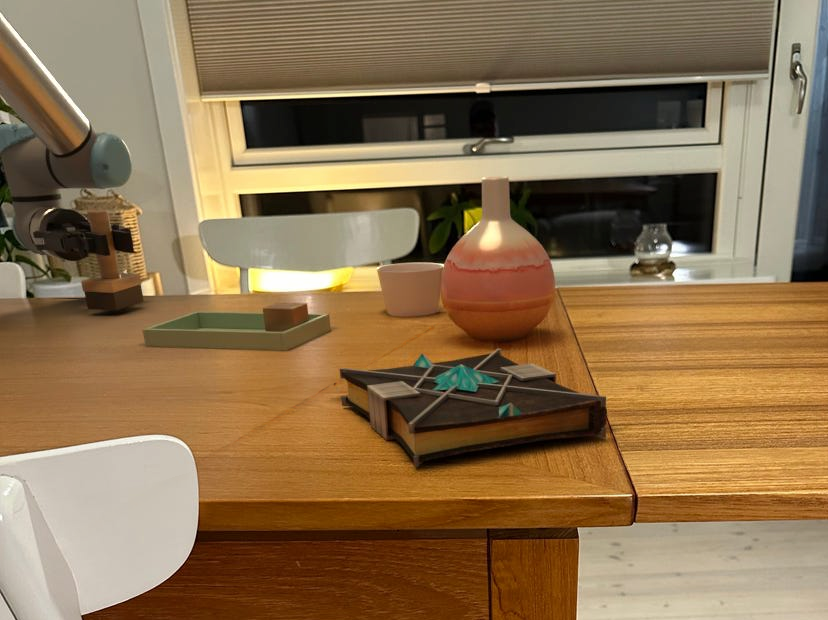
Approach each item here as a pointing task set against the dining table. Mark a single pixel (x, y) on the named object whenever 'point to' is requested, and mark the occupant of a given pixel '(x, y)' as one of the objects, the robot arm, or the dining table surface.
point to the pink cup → (411, 288)
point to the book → (471, 405)
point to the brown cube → (284, 316)
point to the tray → (232, 332)
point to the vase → (497, 274)
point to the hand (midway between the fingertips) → (117, 244)
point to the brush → (110, 274)
